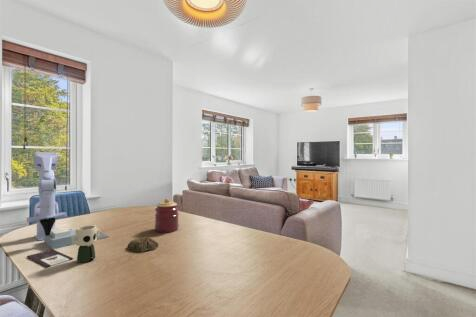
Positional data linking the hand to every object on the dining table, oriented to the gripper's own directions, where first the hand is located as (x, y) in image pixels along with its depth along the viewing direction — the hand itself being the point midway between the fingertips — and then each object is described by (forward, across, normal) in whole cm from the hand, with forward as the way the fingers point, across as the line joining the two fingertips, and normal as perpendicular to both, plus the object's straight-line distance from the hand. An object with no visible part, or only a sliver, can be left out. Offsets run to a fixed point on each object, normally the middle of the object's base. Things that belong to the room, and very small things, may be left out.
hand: (47, 235), depth 115 cm
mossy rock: (+5, +28, -35) cm, 45 cm away
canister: (+5, +51, -19) cm, 55 cm away
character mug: (+5, +6, -31) cm, 32 cm away
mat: (+5, +18, 0) cm, 18 cm away
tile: (+1, +5, 0) cm, 5 cm away
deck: (+5, +6, 0) cm, 8 cm away
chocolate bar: (+6, -3, -18) cm, 19 cm away
